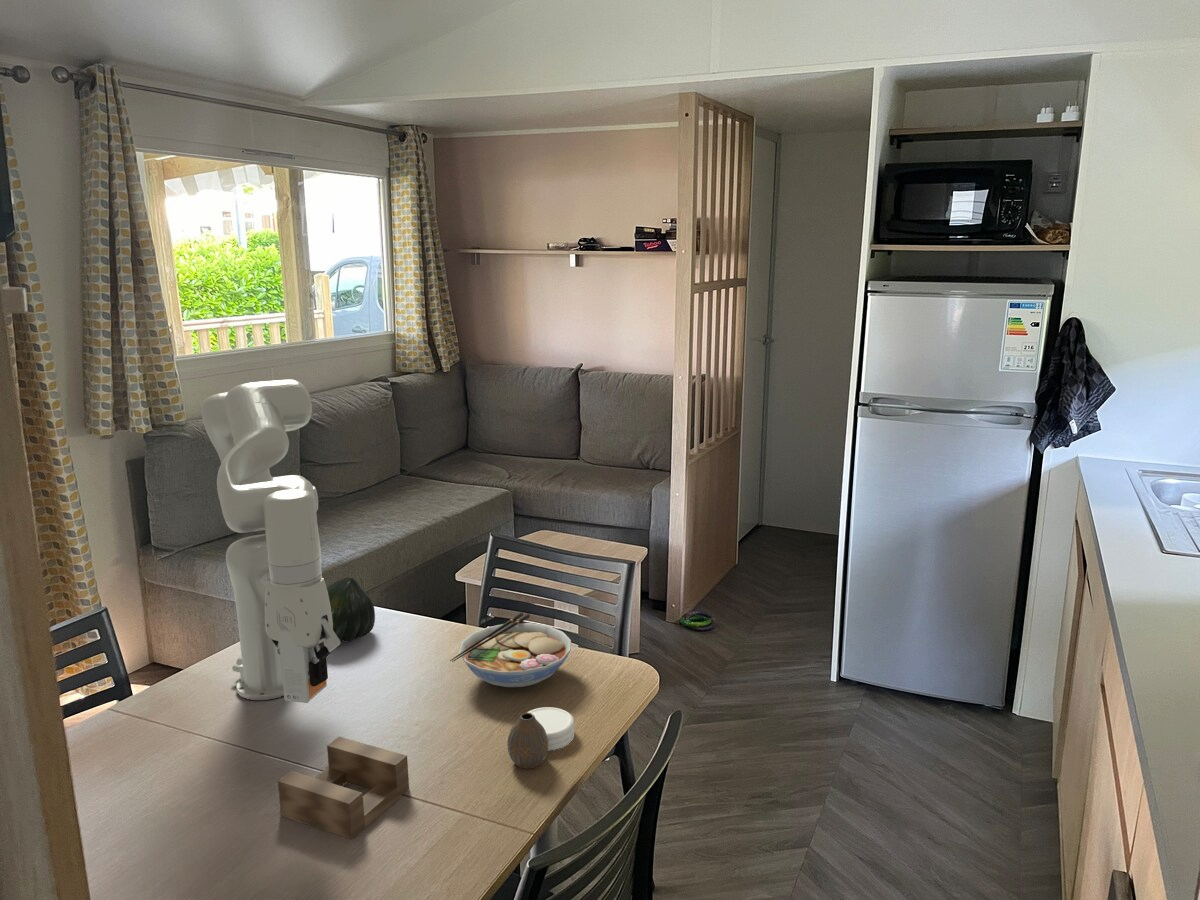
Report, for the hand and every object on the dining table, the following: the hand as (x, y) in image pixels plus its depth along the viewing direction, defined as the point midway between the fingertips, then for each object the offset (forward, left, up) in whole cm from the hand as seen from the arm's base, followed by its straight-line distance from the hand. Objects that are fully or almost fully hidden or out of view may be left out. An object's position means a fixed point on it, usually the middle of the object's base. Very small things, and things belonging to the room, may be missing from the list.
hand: (305, 678), depth 141 cm
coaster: (+27, +30, -21) cm, 45 cm away
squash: (-35, +48, -20) cm, 63 cm away
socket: (+7, 0, -20) cm, 21 cm away
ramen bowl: (+11, +47, -20) cm, 52 cm away
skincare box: (0, 0, -3) cm, 3 cm away
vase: (+28, +21, -20) cm, 40 cm away
